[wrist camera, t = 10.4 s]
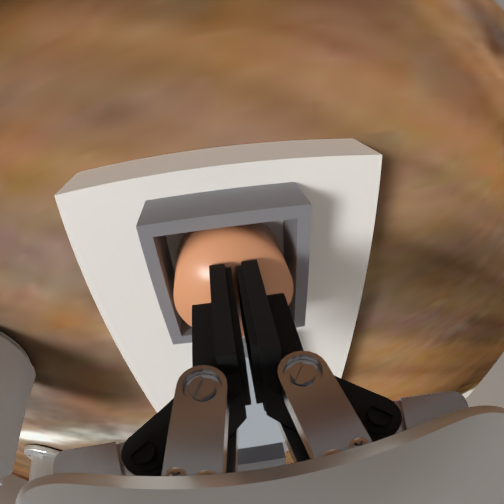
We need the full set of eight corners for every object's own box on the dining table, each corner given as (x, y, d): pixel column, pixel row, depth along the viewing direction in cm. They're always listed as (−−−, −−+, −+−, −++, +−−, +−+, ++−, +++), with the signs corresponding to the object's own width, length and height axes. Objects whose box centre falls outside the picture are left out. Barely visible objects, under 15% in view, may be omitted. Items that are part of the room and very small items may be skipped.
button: (280, 292, 15) (292, 328, 13) (187, 304, 14) (186, 343, 12) (278, 207, 12) (294, 237, 10) (167, 221, 12) (161, 255, 10)
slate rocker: (282, 428, 19) (285, 441, 18) (224, 437, 18) (225, 450, 17) (277, 338, 16) (281, 351, 15) (202, 349, 16) (202, 362, 15)
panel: (313, 421, 31) (325, 459, 27) (191, 439, 30) (193, 479, 26) (353, 138, 15) (410, 172, 10) (77, 172, 13) (32, 219, 9)
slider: (275, 428, 24) (284, 467, 21) (229, 434, 24) (235, 475, 20) (275, 413, 22) (285, 457, 19) (225, 421, 22) (231, 465, 19)
